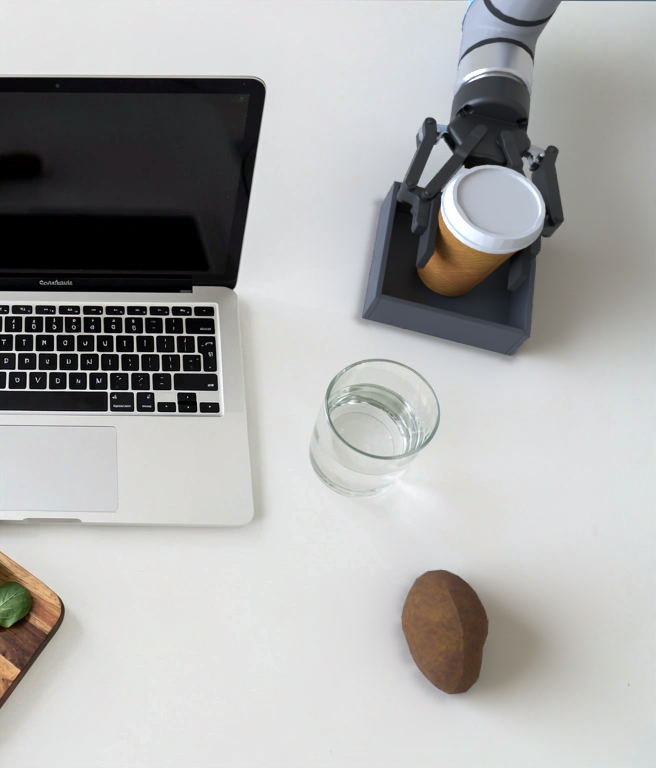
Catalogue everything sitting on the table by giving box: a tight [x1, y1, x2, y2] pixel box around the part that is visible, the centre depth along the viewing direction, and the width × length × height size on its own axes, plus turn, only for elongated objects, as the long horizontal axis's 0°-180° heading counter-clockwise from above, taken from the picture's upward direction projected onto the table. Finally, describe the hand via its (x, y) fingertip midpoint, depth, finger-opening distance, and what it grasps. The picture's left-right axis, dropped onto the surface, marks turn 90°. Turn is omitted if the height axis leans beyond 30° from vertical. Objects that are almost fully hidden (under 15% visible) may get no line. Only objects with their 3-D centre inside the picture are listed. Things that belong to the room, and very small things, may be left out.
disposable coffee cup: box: [417, 165, 545, 296], centre depth 90 cm, size 10×10×12 cm
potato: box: [400, 569, 489, 695], centre depth 77 cm, size 7×10×7 cm
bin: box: [361, 180, 537, 357], centre depth 94 cm, size 15×15×5 cm
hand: (471, 271), depth 87 cm, fingers closed on disposable coffee cup, 8 cm apart
